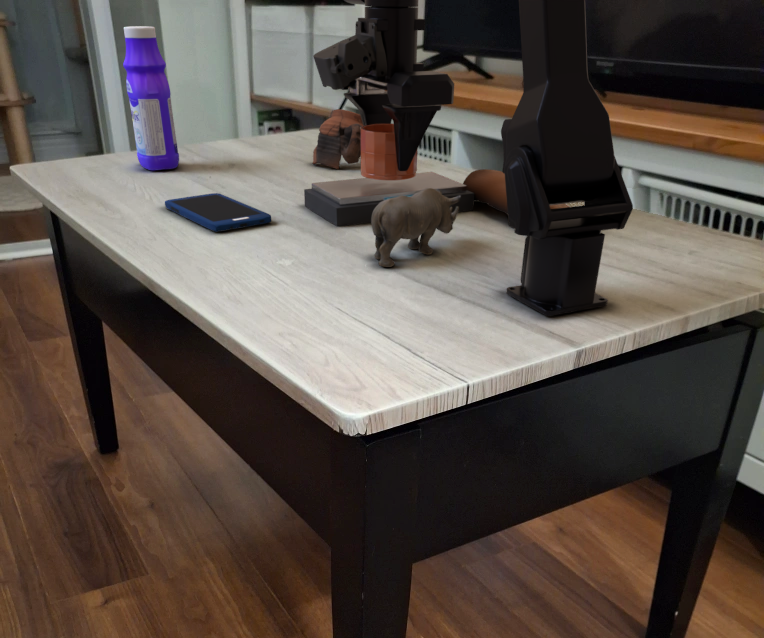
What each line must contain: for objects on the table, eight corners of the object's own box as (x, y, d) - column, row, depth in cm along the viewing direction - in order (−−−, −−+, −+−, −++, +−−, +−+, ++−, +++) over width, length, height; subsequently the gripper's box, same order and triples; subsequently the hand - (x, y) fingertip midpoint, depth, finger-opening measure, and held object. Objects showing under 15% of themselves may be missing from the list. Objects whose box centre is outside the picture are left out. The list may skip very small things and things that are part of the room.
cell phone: (215, 232, 83) (214, 225, 83) (162, 206, 92) (161, 200, 92) (274, 222, 87) (273, 215, 86) (217, 198, 96) (217, 192, 95)
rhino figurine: (473, 241, 82) (478, 181, 78) (391, 270, 73) (392, 205, 70) (443, 233, 84) (446, 175, 81) (359, 262, 76) (359, 198, 72)
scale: (473, 210, 93) (475, 185, 91) (336, 226, 86) (336, 200, 84) (433, 192, 100) (434, 169, 98) (304, 206, 93) (303, 182, 92)
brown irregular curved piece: (299, 164, 116) (316, 109, 115) (353, 190, 121) (370, 137, 120) (327, 156, 106) (346, 95, 105) (385, 184, 111) (404, 127, 109)
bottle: (135, 164, 113) (112, 25, 103) (173, 161, 115) (155, 24, 105) (144, 173, 108) (121, 28, 98) (184, 170, 110) (166, 27, 100)
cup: (426, 177, 89) (428, 130, 87) (375, 182, 87) (375, 134, 84) (400, 167, 94) (401, 122, 91) (351, 171, 92) (351, 125, 89)
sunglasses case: (602, 227, 85) (584, 174, 80) (551, 265, 85) (531, 214, 80) (517, 192, 98) (498, 145, 94) (473, 225, 98) (453, 180, 94)
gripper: (289, 4, 85) (297, 156, 94) (359, 10, 71) (360, 187, 80) (379, 4, 89) (378, 150, 98) (461, 10, 76) (451, 178, 84)
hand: (389, 165), depth 90 cm, fingers closed on cup, 6 cm apart
